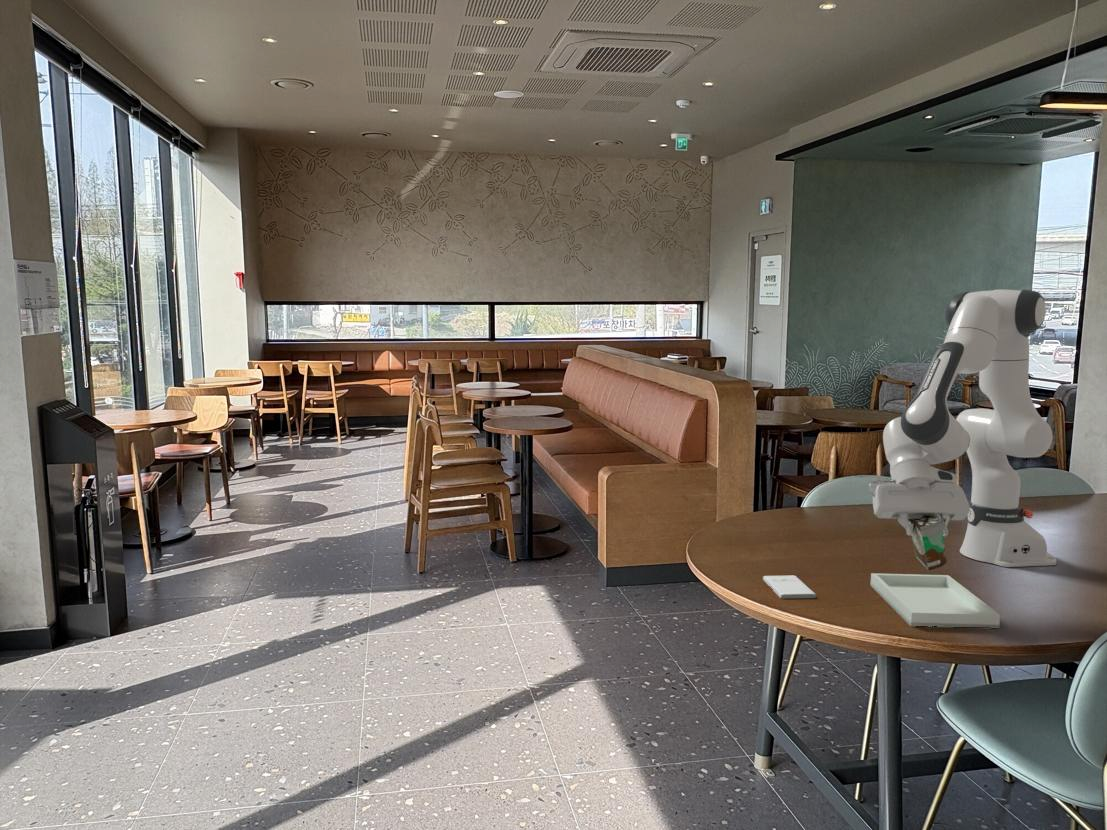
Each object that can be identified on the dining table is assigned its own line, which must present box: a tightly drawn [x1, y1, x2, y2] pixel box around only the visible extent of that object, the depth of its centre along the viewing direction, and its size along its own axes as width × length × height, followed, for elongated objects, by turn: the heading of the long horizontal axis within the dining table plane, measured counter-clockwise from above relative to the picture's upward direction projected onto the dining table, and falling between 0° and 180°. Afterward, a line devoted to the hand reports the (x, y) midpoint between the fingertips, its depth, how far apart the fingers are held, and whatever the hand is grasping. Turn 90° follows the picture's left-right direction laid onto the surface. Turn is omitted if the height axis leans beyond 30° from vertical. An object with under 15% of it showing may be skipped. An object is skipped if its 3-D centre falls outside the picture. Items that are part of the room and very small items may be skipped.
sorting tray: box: [870, 572, 1001, 629], centre depth 178 cm, size 18×24×3 cm
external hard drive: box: [762, 574, 817, 599], centre depth 188 cm, size 2×8×12 cm
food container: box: [907, 514, 948, 571], centre depth 175 cm, size 12×6×10 cm, turn 170°
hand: (927, 534), depth 175 cm, fingers closed on food container, 5 cm apart
